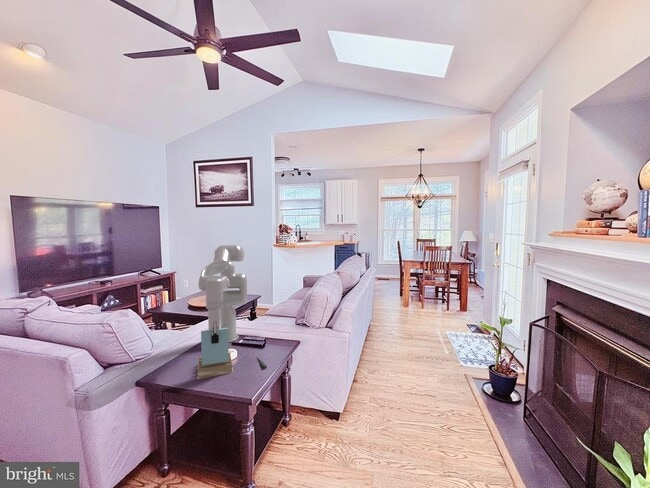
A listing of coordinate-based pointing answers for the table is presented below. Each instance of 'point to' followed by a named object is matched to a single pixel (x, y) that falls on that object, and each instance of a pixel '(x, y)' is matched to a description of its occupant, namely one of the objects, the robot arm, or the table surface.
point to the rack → (214, 368)
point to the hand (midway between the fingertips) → (215, 342)
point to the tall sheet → (214, 347)
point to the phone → (261, 364)
